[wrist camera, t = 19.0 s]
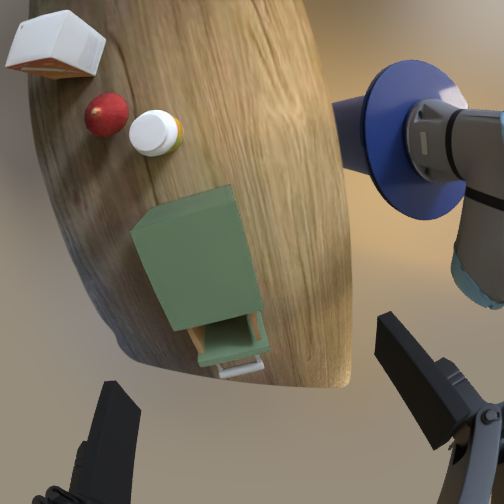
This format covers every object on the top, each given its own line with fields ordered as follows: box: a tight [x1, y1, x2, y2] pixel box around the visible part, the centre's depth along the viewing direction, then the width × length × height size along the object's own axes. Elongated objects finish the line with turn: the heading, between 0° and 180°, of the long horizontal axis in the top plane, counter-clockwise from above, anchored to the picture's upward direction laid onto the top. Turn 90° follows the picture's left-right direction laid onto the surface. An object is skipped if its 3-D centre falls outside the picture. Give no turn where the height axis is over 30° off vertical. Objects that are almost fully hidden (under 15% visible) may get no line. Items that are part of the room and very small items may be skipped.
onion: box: [84, 93, 129, 137], centre depth 27 cm, size 6×6×8 cm
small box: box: [5, 10, 106, 80], centre depth 19 cm, size 8×6×13 cm
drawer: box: [187, 311, 271, 379], centre depth 39 cm, size 18×10×9 cm, turn 13°
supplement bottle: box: [129, 110, 184, 157], centre depth 28 cm, size 5×5×10 cm
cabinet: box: [130, 184, 264, 331], centre depth 34 cm, size 14×12×11 cm
